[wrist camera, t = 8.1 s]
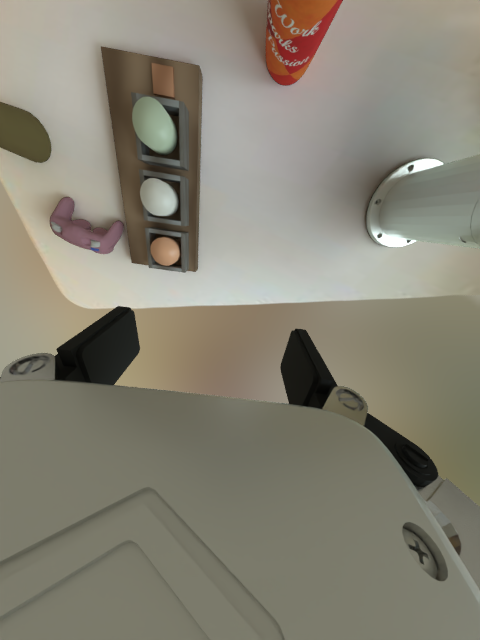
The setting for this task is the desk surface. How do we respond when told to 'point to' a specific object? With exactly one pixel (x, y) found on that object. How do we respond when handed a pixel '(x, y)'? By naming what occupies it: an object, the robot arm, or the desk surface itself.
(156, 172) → the board
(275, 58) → the coffee cup
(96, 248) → the video game controller
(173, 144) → the pale green egg
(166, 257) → the brown egg
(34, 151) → the olive green skittle
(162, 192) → the white egg
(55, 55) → the desk surface
